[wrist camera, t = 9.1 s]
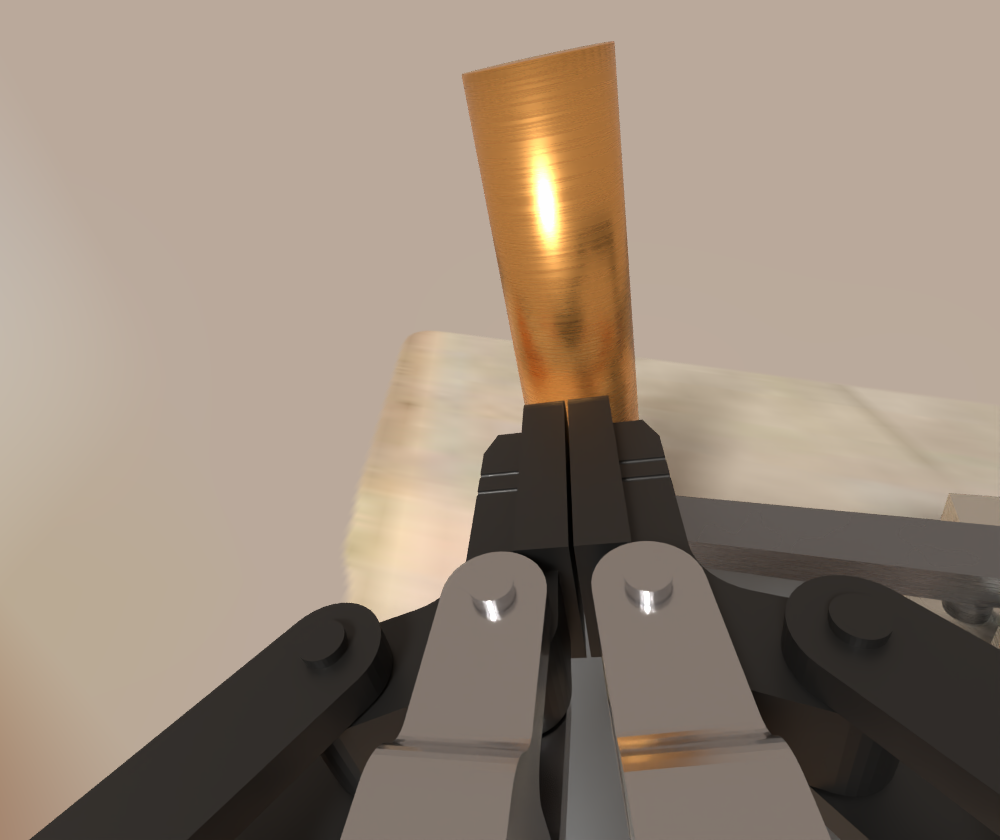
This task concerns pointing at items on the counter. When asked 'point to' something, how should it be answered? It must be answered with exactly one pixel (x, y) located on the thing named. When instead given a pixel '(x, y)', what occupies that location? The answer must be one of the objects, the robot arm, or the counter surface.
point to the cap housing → (593, 763)
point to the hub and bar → (610, 345)
